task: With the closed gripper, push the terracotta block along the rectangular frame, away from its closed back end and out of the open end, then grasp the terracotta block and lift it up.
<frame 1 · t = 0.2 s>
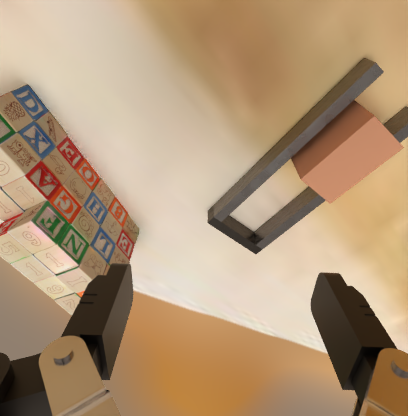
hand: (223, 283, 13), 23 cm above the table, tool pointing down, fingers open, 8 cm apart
rectangular frame: (302, 164, 34), on the table
block: (330, 138, 32), resting in rectangular frame
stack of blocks: (74, 176, 37), on the table
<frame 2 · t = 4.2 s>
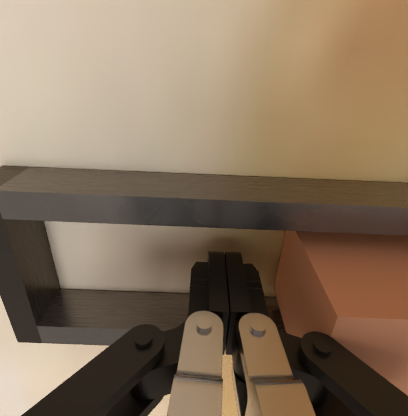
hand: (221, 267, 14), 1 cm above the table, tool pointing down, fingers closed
rectangular frame: (266, 253, 15), on the table
block: (358, 258, 15), resting in rectangular frame, touching gripper
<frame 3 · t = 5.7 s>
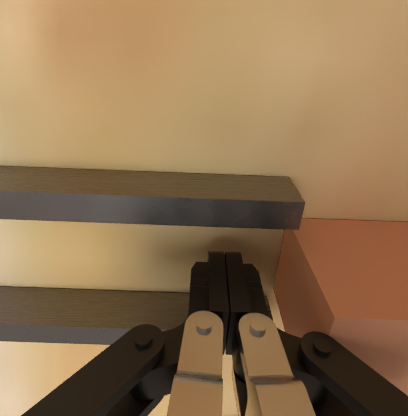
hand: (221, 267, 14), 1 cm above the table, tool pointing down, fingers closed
rectangular frame: (58, 245, 15), on the table
block: (357, 258, 15), on the table, touching gripper
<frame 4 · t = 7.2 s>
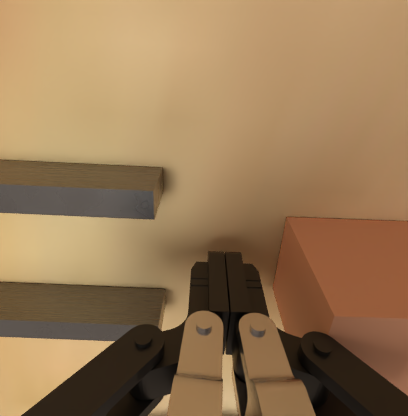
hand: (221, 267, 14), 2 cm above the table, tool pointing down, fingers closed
block: (356, 257, 15), on the table, touching gripper
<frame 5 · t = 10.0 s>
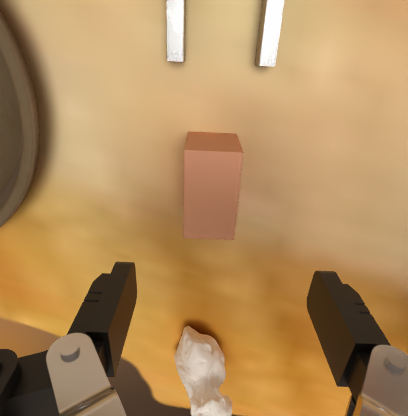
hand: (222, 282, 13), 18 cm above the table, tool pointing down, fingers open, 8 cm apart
bust: (201, 344, 42), on the table
block: (210, 172, 30), on the table
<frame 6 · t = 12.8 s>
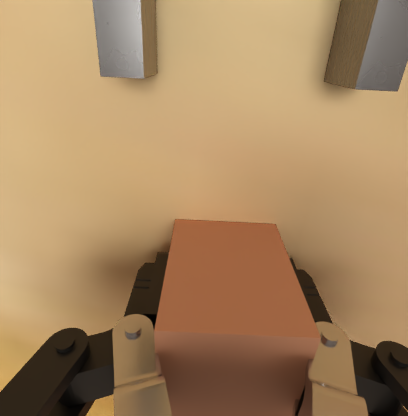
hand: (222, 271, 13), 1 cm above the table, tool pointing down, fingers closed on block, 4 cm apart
block: (218, 289, 15), on the table, touching gripper
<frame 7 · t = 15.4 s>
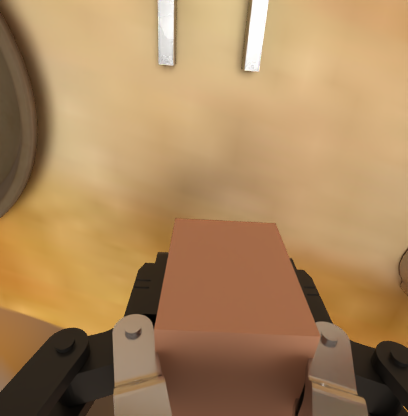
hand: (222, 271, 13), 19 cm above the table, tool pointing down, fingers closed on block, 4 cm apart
block: (218, 288, 15), point 18 cm above the table, touching gripper
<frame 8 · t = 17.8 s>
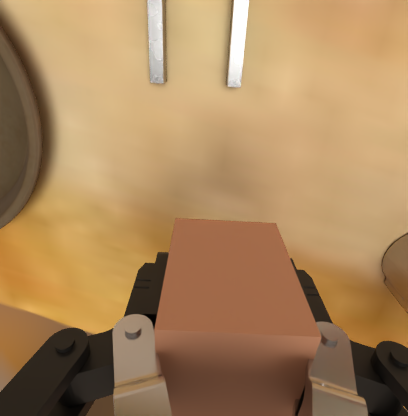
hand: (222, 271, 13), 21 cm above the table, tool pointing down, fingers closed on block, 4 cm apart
block: (219, 288, 15), point 20 cm above the table, touching gripper
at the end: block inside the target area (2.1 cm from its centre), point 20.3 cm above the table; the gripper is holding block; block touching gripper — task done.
